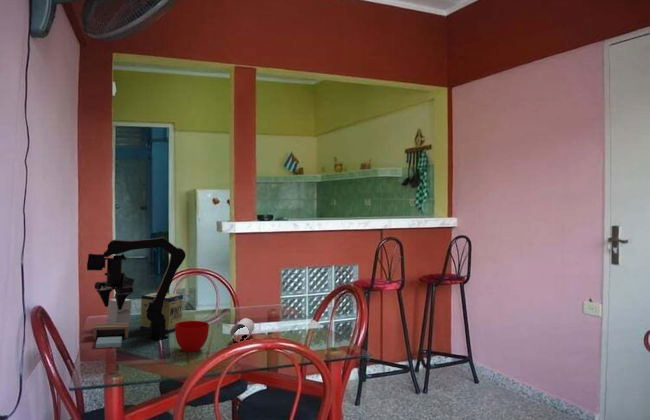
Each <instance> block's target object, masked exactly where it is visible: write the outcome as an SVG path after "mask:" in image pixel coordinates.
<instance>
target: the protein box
mask: <svg viewBox="0 0 650 420" xmlns="http://www.w3.org/2000/svg"><path fill="white" fill-rule="evenodd" d="M157 292H158V291H156V292H151V293H147V294H142V295H141V299H140V300H141V302H140V304H141V305H140V320H139V321H140V323H139V330H142V329H145V330H144V331H149V330H150V323H151V321H150V320H148V319H147V316H146V307H147V306H148V303H149V300H151V301H153V299H154V298H155V296H156V294H157ZM183 304H184V294H179V293H178V294H176V293H168V292H167V294H166V297H165V299H164V302H163V307H162V312H161V313H162V314H163V315H164V316H165V319H166V322H165V324H166V331H165V334H170V333H173V332H175V324H176V323H179V322H183V309H184V308H183V307H184V306H183Z"/></svg>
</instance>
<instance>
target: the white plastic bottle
mask: <svg viewBox="0 0 650 420" xmlns="http://www.w3.org/2000/svg"><path fill="white" fill-rule="evenodd" d="M245 326H246V327H247V328H248V330H249V337H250V336H251V335H252V334H251V333H253V332H254V331H255V327H256V326H255V323H254V321H253V320H252V319H249V318H247V317H244V318H241V320H239V321H238V322H237V324H234V325H233V326H232V328H231V329H230V330H229V331H230V332H229V334H230V335H229V336H230V337H231V339H232V336H233V335H234V333H235V332H236V331H237V330H238V329H240V328H243V327H245ZM253 330H254V331H253ZM252 331H253V332H252ZM250 334H251V335H250Z"/></svg>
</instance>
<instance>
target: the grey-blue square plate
mask: <svg viewBox="0 0 650 420" xmlns="http://www.w3.org/2000/svg"><path fill="white" fill-rule="evenodd" d="M122 340H123V337H122V336H104V337H103V336H100V337H98V336H97V339H96V342H95V349H107V348H108V349H110V348H109V347H112V348H121V347H122V342H123V341H122Z"/></svg>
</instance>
